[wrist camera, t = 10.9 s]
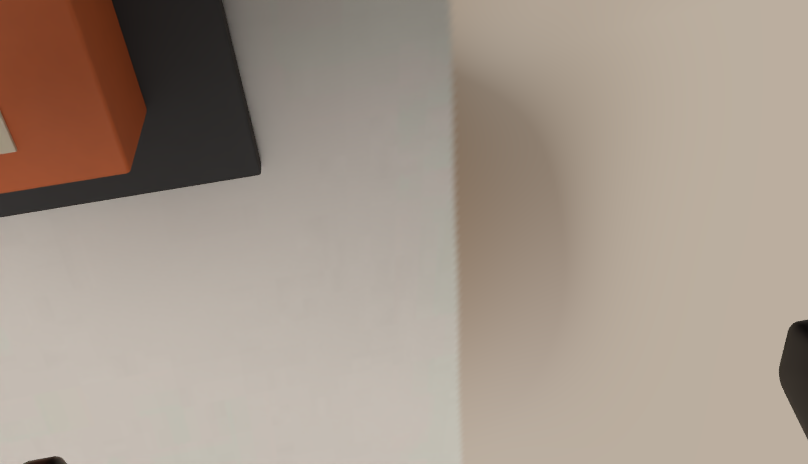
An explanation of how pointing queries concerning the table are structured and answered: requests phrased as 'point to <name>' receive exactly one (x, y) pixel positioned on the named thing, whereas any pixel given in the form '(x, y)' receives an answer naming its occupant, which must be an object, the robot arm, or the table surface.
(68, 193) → the word mat
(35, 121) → the orange block
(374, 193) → the table surface
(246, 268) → the table surface
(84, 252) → the table surface
